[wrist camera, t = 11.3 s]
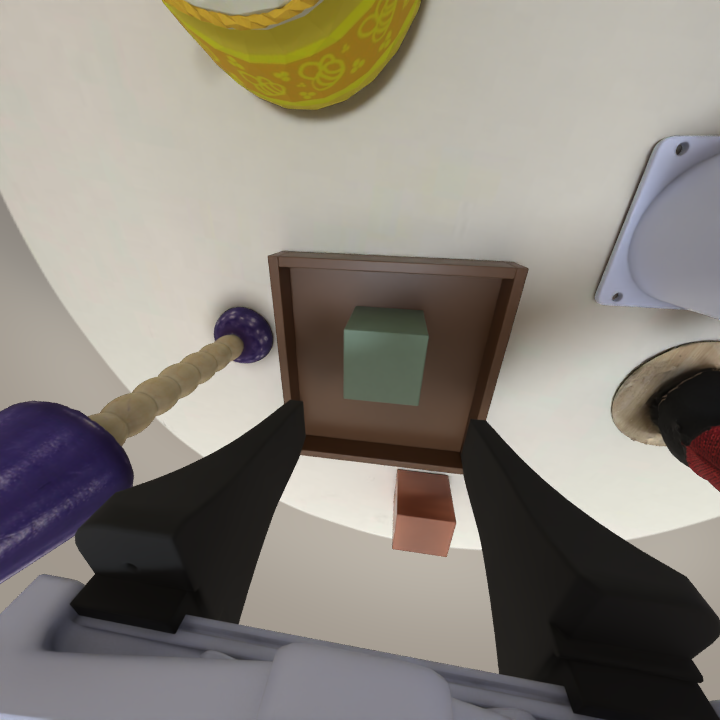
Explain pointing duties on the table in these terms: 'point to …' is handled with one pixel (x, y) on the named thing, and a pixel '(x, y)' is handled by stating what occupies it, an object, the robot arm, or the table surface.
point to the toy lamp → (95, 445)
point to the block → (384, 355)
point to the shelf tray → (443, 357)
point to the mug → (298, 44)
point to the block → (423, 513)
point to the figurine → (676, 406)
